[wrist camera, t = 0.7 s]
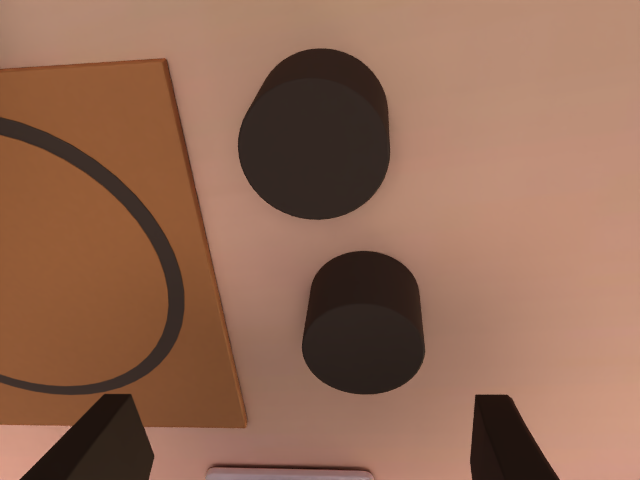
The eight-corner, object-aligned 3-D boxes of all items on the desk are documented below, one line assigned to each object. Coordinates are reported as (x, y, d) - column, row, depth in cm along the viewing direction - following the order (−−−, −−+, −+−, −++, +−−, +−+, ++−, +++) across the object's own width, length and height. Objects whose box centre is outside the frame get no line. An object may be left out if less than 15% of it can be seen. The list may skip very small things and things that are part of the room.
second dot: (389, 171, 18) (391, 218, 15) (266, 176, 18) (249, 222, 16) (386, 43, 16) (388, 73, 13) (248, 52, 16) (225, 83, 14)
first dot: (418, 336, 22) (424, 395, 19) (315, 336, 22) (307, 394, 20) (419, 249, 19) (426, 303, 17) (305, 251, 20) (295, 305, 17)
